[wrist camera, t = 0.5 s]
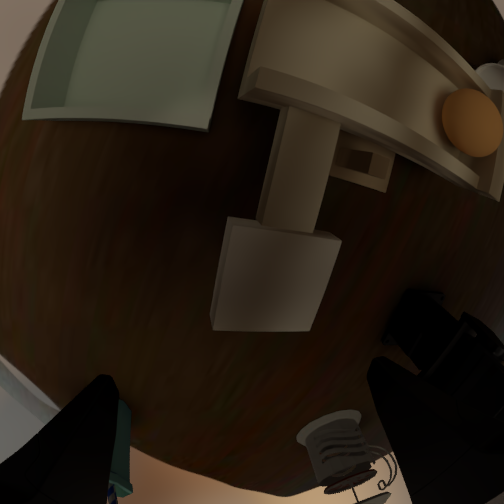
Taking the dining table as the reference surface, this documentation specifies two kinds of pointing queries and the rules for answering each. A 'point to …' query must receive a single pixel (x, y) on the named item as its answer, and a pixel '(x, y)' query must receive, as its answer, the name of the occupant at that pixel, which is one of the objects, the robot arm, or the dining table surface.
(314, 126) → the lever
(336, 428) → the french press
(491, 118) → the ball
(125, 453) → the cup
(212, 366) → the dining table surface
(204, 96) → the tray
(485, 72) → the spread jar
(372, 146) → the stand
